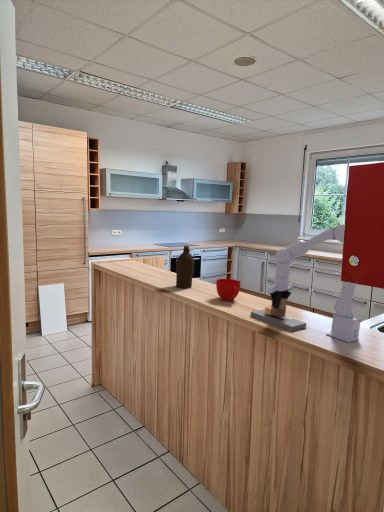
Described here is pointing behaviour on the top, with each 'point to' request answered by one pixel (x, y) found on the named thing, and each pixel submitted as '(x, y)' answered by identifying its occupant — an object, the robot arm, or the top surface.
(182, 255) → the olive oil
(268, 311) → the switch tab
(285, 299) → the walnut pusher
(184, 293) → the top surface
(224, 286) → the ceramic cup
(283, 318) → the switch board
